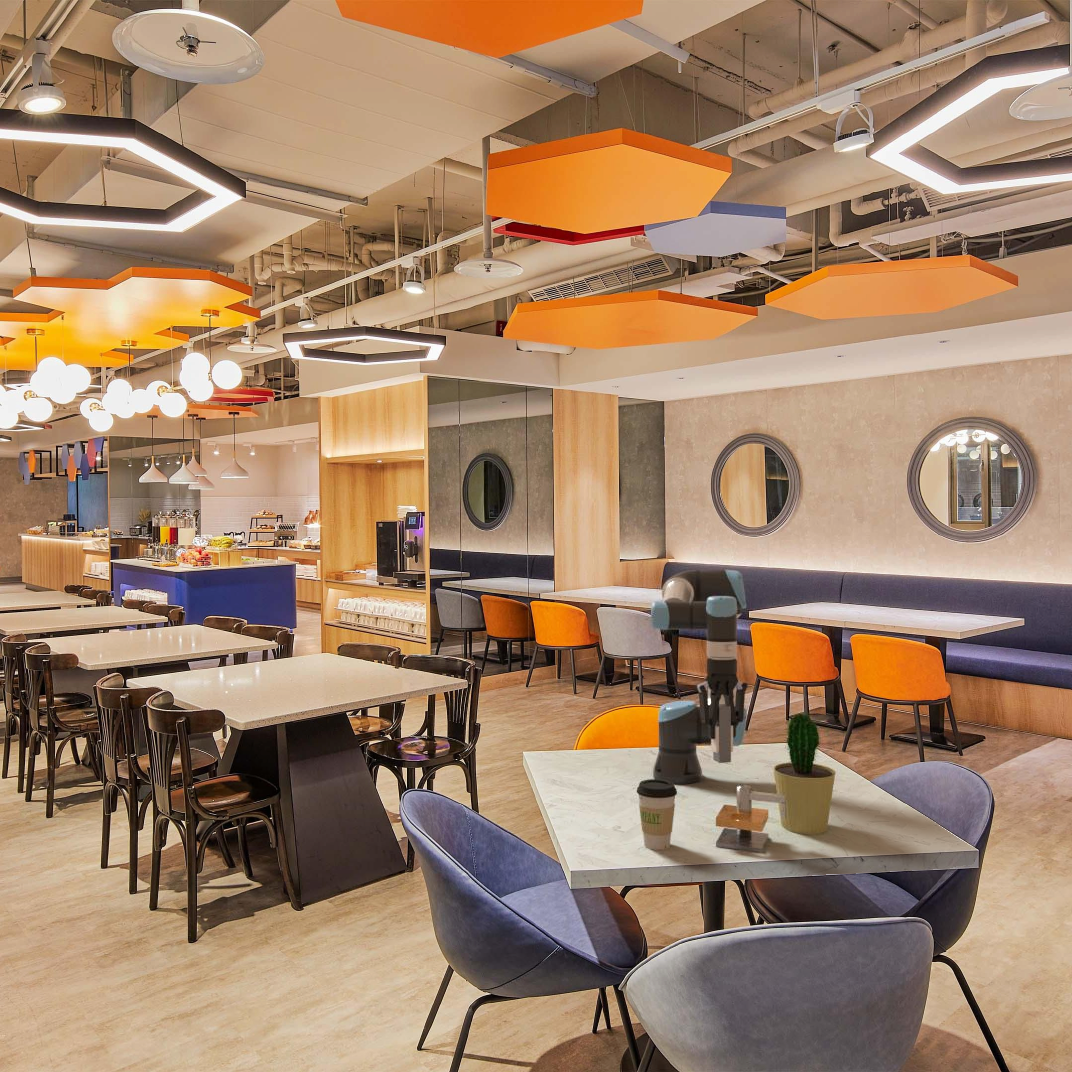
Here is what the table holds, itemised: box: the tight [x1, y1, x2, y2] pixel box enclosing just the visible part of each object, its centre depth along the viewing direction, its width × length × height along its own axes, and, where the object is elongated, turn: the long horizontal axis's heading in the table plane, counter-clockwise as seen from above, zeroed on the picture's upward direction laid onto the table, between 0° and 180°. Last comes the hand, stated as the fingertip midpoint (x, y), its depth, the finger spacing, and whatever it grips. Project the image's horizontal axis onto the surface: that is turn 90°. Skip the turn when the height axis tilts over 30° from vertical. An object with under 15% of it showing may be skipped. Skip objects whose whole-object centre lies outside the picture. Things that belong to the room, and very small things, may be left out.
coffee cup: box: [636, 778, 678, 851], centre depth 211 cm, size 10×10×15 cm
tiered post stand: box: [715, 784, 786, 854], centre depth 212 cm, size 16×11×13 cm
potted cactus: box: [773, 712, 836, 835], centre depth 224 cm, size 15×15×30 cm
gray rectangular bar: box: [712, 704, 732, 764], centre depth 217 cm, size 3×3×14 cm
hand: (722, 750), depth 217 cm, fingers closed on gray rectangular bar, 3 cm apart
